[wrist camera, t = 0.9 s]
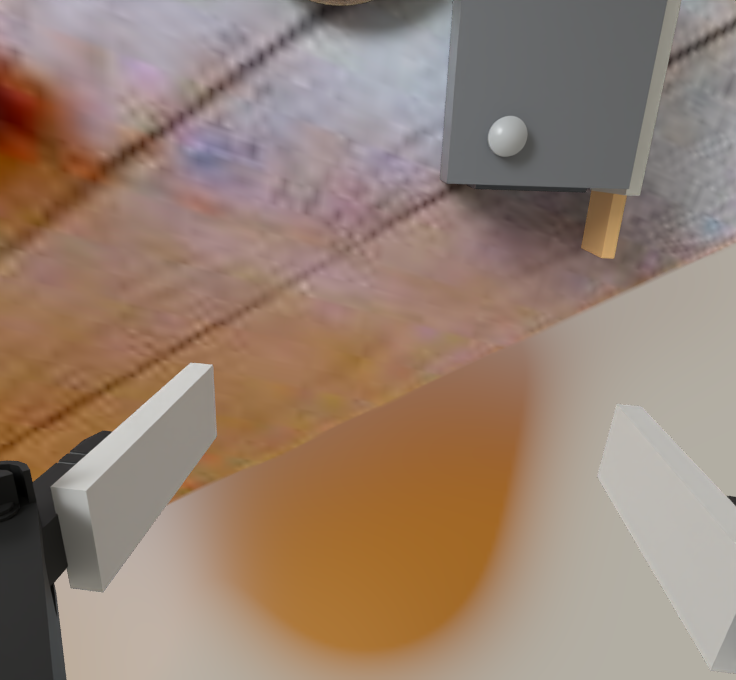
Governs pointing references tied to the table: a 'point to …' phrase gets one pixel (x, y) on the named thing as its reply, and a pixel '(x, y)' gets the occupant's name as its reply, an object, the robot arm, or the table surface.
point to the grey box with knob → (547, 92)
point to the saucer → (341, 2)
